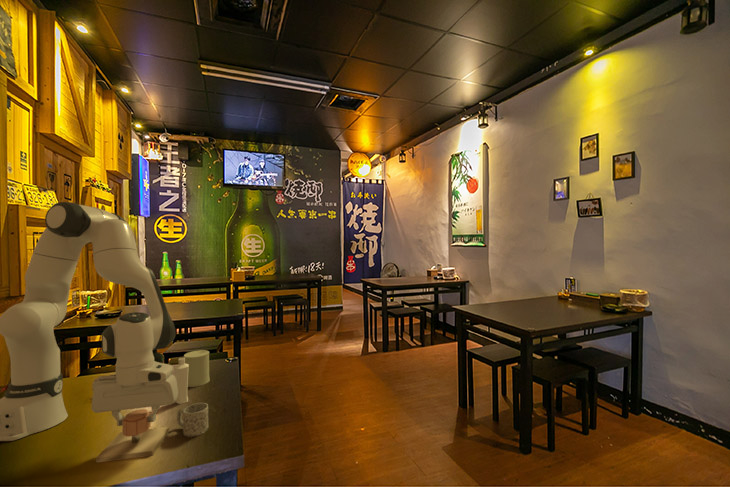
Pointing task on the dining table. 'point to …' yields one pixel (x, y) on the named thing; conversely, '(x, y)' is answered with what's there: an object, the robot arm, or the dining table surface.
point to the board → (133, 445)
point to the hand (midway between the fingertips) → (136, 423)
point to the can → (197, 367)
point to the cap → (135, 423)
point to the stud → (135, 438)
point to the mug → (194, 419)
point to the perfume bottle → (182, 380)
